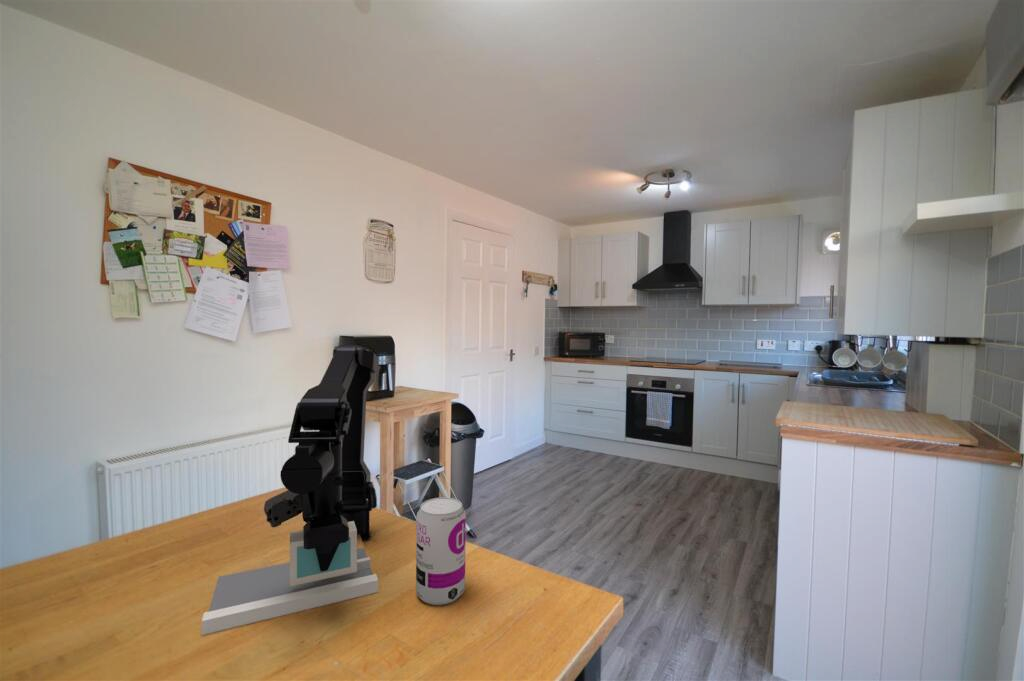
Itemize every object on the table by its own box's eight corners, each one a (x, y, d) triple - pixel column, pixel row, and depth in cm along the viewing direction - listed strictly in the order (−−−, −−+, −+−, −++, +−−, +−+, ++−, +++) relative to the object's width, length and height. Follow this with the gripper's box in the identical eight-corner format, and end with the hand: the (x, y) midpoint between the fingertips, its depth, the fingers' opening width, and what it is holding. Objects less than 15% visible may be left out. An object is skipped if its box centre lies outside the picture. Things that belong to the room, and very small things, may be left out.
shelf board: (364, 555, 87) (364, 537, 87) (378, 600, 73) (378, 580, 73) (218, 585, 77) (218, 565, 77) (201, 645, 62) (201, 621, 62)
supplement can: (473, 585, 78) (474, 501, 77) (447, 613, 70) (448, 519, 70) (434, 574, 81) (435, 493, 81) (405, 599, 74) (406, 509, 73)
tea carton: (290, 573, 74) (289, 531, 73) (353, 560, 78) (353, 520, 78) (289, 586, 70) (289, 543, 70) (356, 572, 74) (356, 530, 74)
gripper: (270, 460, 78) (270, 548, 79) (263, 499, 61) (264, 609, 62) (338, 453, 83) (338, 535, 84) (349, 487, 66) (349, 589, 67)
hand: (323, 563), depth 74 cm, fingers closed on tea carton, 4 cm apart
